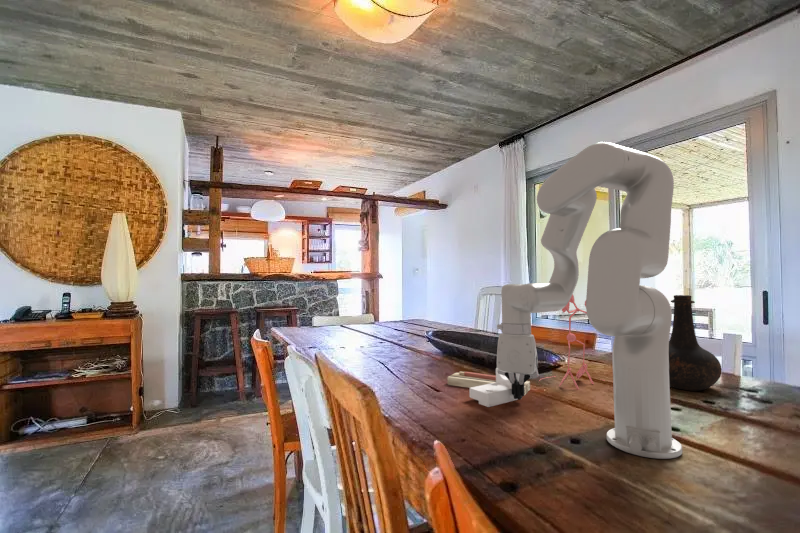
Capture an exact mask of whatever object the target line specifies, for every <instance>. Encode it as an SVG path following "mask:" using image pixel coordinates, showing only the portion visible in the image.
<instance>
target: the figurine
mask: <svg viewBox="0 0 800 533" xmlns="http://www.w3.org/2000/svg"><path fill="white" fill-rule="evenodd" d="M570 304H573V305H574V307H575V309H572V310H570ZM584 307H585V308H586V300H585V301H584ZM561 311H562V313H564V314H565V313H566V312H567V314H570V315H569V318H568V328H569V329H568V334H567V335H566V340H567V342H568V344H567V345H568V354H567V355H568V357H567V358H568V359H567V360H568V361H567V362H568V363H567V370H566V373H565V374H564V376H563V378H562V380H561V381H560V383H559V385H558V386H559V387H561V385H562V384H563V383H564V381H565V380H566V379H567V377H569V375H570V377H571V379H572V382H573V384H574V386H575V388H576V389H577V390H580V388H579V386H578V384H577V382H576V379H575V378H574V376H573V373H572V372H571V370H572V367H570V358H571V356H570V354H571V343H573V342H577V343H580V344H581V345H583V354H582V355H583V356H582V366H580V367H579V369H578V371H577V372H576V375H575V376H576V378H577V380H580V378H582V376H583V375H584V374H585V373H586V375H587V377H588V378H589V381H590V383H591V385H594V381H593V379H592V377H591V375H590V373H589V372H588V363H585V355H586V354H585V351H586V350H585V349H586V344H585V343H583V342H582V341H580V340H579V339H578V340H577V336H576V335H575V334H574V333H572V332H571V327H572V326H571V324H572V323H571V322H572V318H573V316H574V315H575V314H577V313H578V312H581V313H584V314H586V315H587V311H586V310H582V309H580V308H579V307H578V305H577V304H576V302H575V297H574V293H573V294H572V296H571V298H570V300H569V302H568V304H567V305H566V306H565V307H564V308H563V309H561ZM556 377H557V375H556V376H555V375H554V376H552V378H556ZM546 378H548V379H549V378H550V376H547V377H542V380H543V379H546ZM599 380H600V381H602V379H600V378H599ZM540 381H541V379H539V380H538V382H537V383H538V385H540V386H541V384H540V383H539V382H540ZM603 381H606V380H605V379H603Z"/></svg>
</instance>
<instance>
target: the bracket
mask: <svg viewBox="0 0 800 533" xmlns="http://www.w3.org/2000/svg"><path fill="white" fill-rule="evenodd" d="M495 376H496V382H495V383H490V384H486V385H481V386H476V387H471V388H469V398H471V399H473V400H475V401H478V405H481V406H485V407H487V408H491V407H494V406H498V405H502V404H506V403H509V402H513V401H514V402H515V401H518V400H519V399H514V395H512V383H510V380H509V379H508V378H507V377H506V376H504V375H501V374H499V373H498V369H497V367H496V368H495ZM516 376H517V380H518V381H519V376H520V374H519V373H516ZM522 398H523V397H522ZM522 398H521V399H520V400H522Z"/></svg>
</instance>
